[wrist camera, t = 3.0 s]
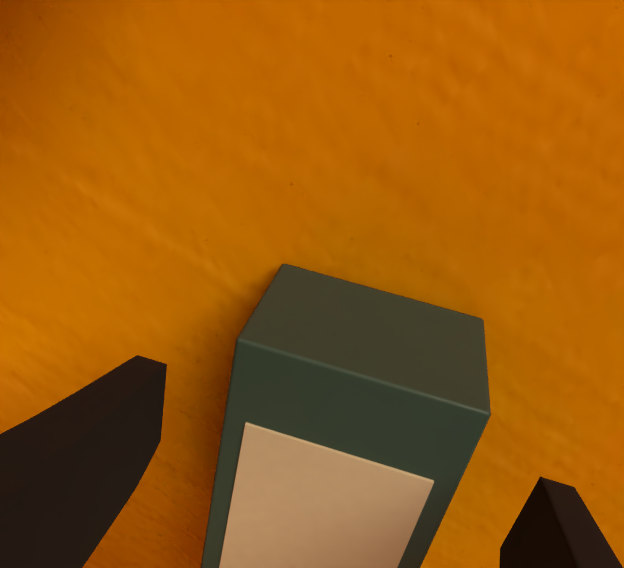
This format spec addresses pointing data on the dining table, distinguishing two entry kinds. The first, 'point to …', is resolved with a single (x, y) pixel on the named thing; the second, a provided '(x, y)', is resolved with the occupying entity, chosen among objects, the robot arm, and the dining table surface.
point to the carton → (344, 427)
